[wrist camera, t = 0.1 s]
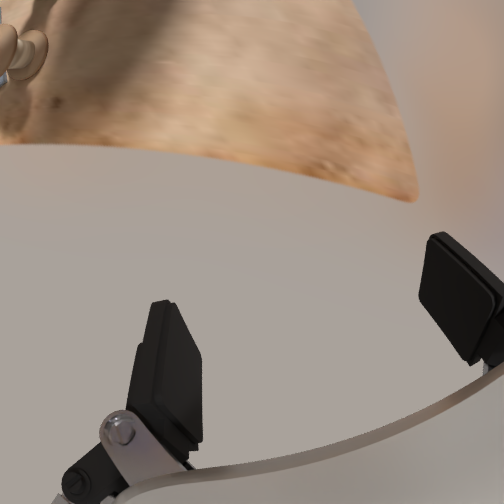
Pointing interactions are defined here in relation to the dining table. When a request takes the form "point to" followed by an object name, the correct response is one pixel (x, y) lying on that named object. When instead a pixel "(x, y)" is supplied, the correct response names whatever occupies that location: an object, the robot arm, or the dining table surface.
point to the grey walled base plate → (3, 78)
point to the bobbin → (21, 52)
